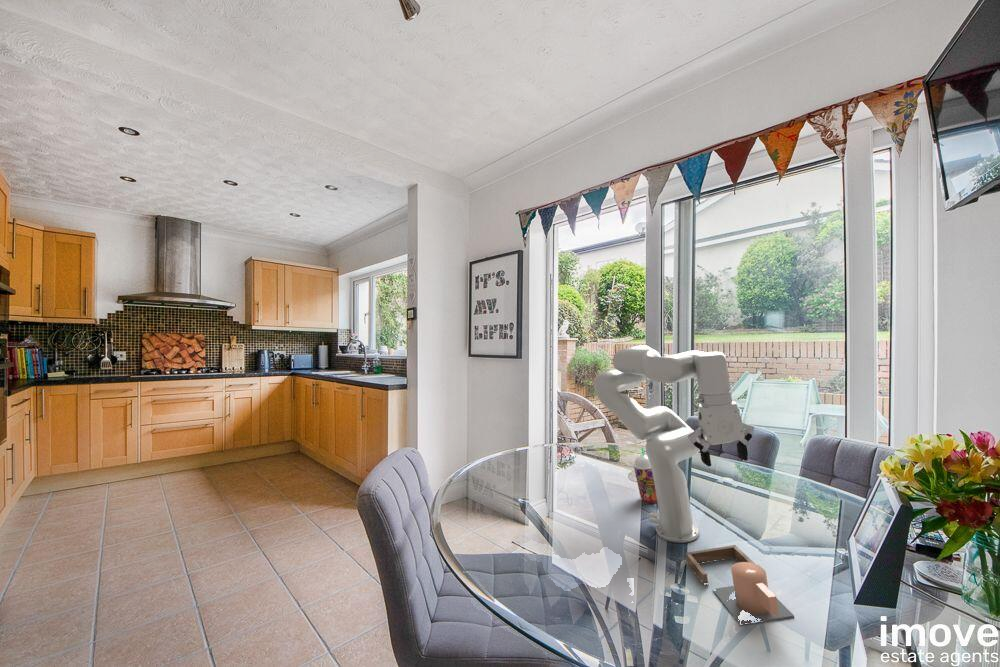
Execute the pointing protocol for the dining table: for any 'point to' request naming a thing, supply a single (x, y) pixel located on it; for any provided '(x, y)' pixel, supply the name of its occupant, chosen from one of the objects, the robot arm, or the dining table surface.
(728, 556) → the holder
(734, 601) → the mat
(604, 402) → the robot arm
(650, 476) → the smoothie
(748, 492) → the dining table surface
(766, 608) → the rounded block with tab
